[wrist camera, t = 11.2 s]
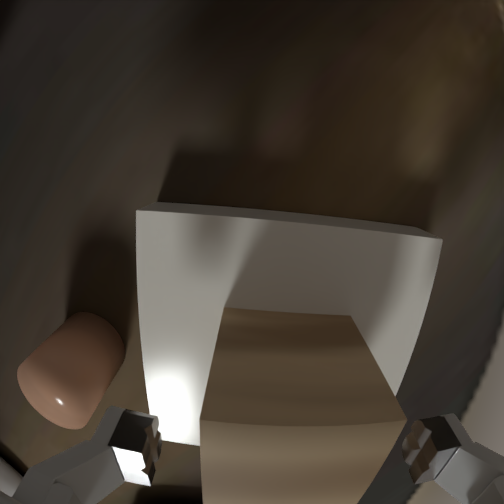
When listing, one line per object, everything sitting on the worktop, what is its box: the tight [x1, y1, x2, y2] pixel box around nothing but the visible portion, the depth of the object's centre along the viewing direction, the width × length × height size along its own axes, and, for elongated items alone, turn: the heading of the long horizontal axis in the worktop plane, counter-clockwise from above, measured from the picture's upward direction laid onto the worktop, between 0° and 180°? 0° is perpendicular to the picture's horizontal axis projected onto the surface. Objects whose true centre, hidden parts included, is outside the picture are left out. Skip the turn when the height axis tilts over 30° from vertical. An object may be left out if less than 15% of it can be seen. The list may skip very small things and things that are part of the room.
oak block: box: [199, 307, 407, 504], centre depth 10 cm, size 5×5×6 cm
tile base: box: [136, 202, 443, 446], centre depth 14 cm, size 12×12×2 cm
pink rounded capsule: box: [17, 312, 125, 429], centre depth 13 cm, size 4×4×5 cm
